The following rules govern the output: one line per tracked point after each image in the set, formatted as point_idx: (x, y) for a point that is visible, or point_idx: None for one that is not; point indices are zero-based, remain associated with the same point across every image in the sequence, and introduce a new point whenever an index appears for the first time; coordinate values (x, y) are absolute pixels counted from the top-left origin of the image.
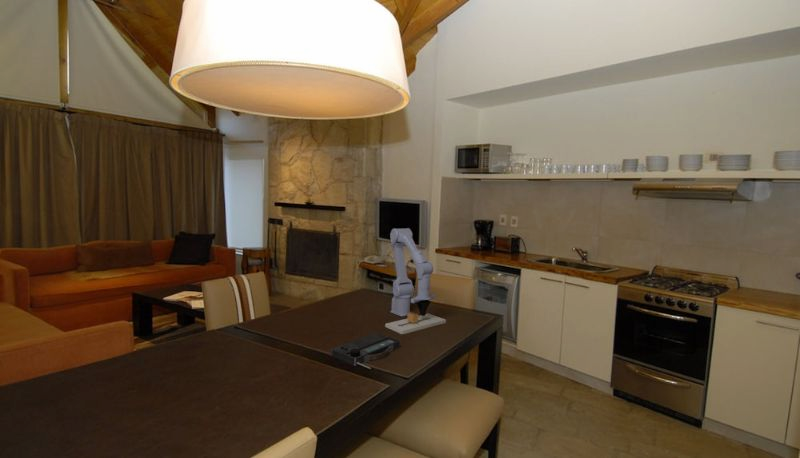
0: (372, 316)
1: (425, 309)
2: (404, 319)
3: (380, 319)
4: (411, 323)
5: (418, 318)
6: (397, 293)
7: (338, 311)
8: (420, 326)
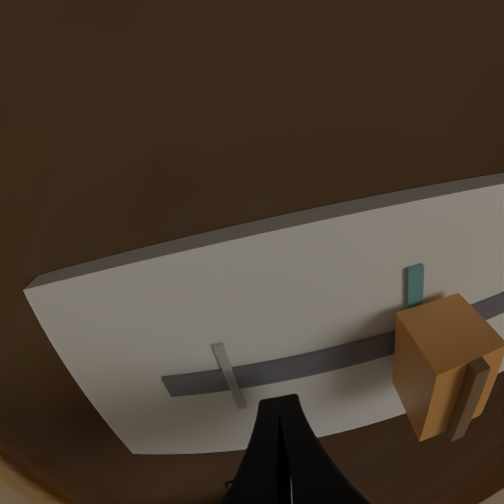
0: (445, 465)
1: (276, 466)
2: None
3: None
4: None
5: None
6: None
7: (474, 486)
8: (433, 195)
